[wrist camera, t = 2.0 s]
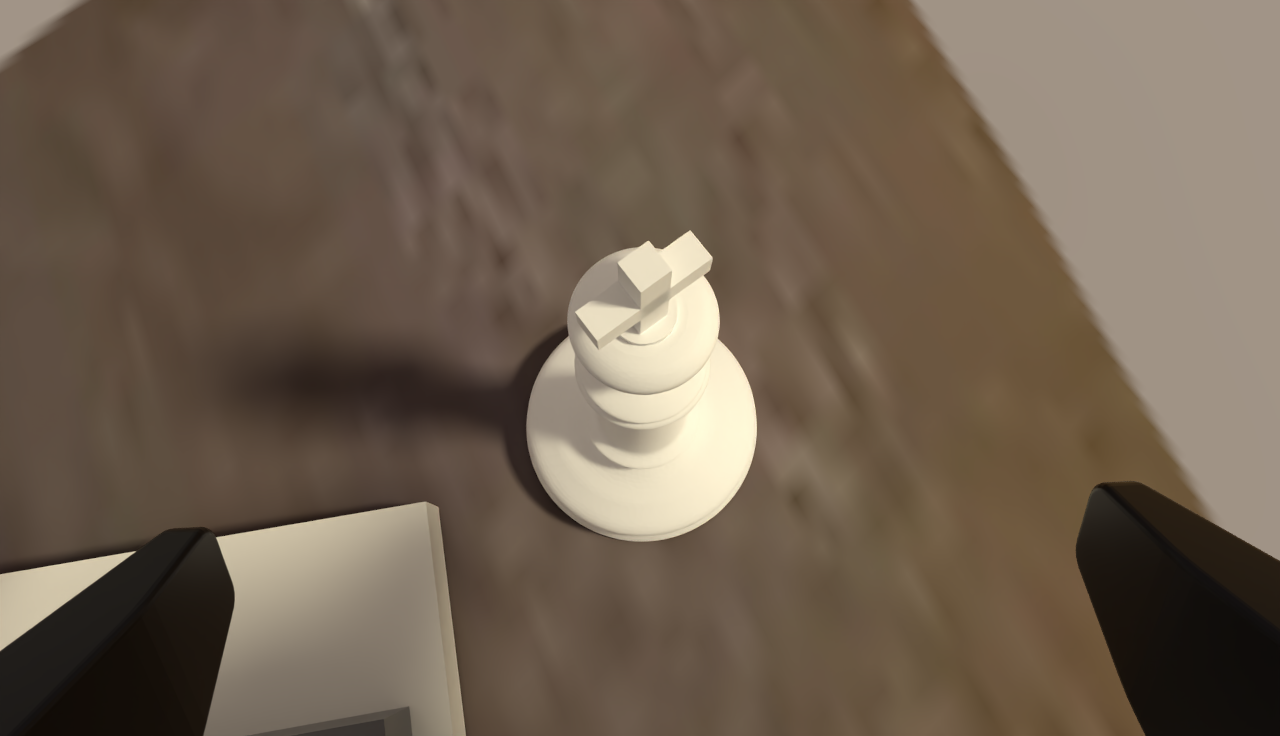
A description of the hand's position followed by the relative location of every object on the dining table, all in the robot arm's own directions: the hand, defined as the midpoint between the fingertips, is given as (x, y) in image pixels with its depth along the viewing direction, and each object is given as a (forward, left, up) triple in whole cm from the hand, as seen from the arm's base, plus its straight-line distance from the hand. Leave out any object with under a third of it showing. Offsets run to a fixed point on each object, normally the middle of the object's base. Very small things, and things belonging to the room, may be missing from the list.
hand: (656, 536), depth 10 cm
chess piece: (+3, 0, -10) cm, 11 cm away
